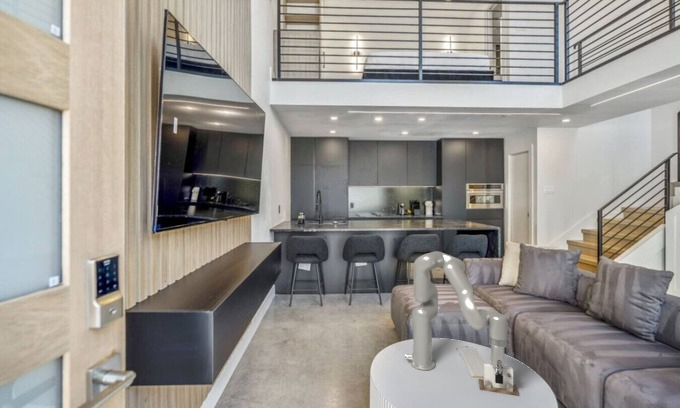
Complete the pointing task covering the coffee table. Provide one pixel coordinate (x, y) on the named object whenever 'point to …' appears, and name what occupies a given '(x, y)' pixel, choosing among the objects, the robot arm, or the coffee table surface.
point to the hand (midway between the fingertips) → (497, 377)
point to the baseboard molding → (472, 362)
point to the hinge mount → (509, 388)
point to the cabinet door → (490, 376)
